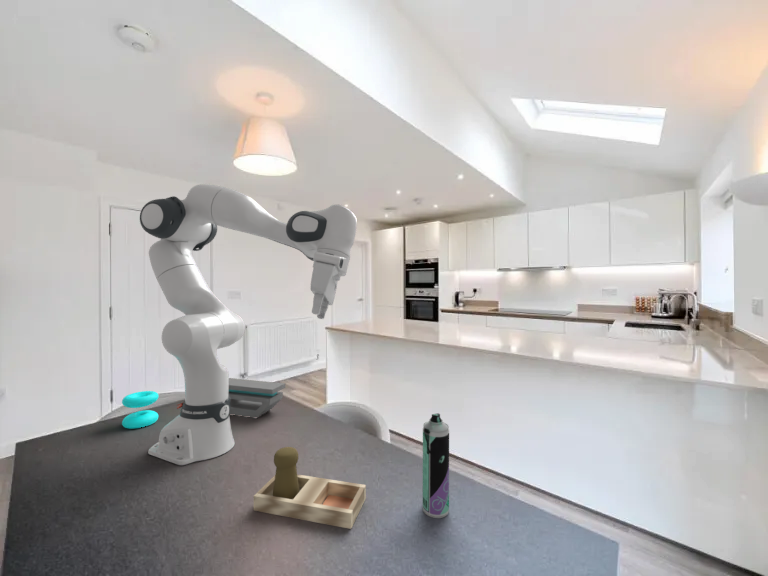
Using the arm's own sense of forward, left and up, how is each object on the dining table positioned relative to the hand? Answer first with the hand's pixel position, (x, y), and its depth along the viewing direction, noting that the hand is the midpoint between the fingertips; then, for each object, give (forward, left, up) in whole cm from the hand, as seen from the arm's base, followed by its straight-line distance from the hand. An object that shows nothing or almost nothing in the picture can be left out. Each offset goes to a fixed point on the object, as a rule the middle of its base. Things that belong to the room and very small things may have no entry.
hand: (317, 316), depth 84 cm
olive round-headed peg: (-2, -12, -39) cm, 41 cm away
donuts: (-71, +12, -39) cm, 82 cm away
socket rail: (+4, -12, -39) cm, 41 cm away
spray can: (+30, -7, -39) cm, 50 cm away
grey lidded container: (-41, +30, -39) cm, 64 cm away
